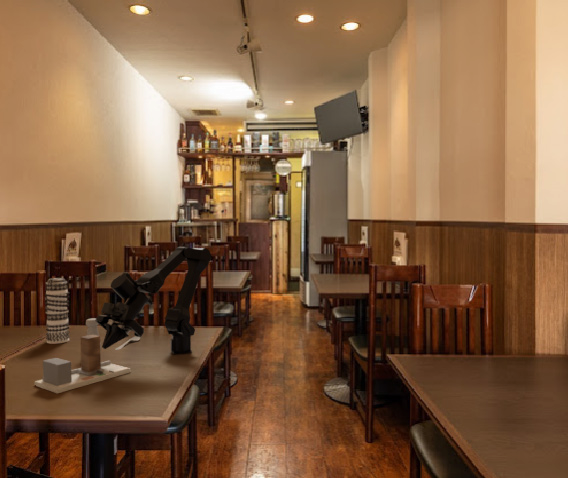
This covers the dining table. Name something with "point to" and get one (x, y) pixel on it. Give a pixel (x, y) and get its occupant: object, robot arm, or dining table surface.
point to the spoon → (128, 341)
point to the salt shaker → (92, 328)
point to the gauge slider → (90, 355)
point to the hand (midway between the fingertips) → (103, 348)
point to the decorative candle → (57, 311)
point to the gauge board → (73, 375)
